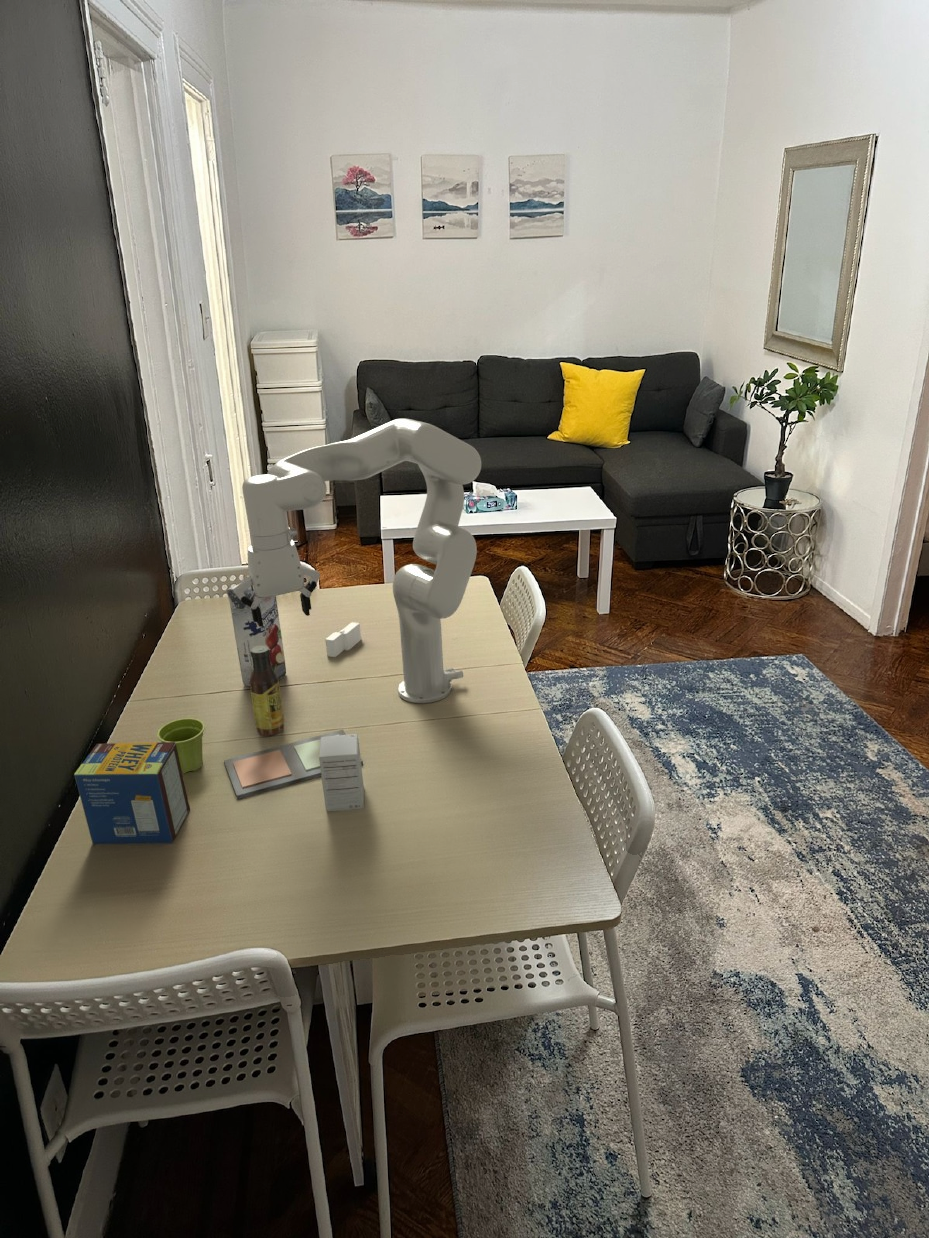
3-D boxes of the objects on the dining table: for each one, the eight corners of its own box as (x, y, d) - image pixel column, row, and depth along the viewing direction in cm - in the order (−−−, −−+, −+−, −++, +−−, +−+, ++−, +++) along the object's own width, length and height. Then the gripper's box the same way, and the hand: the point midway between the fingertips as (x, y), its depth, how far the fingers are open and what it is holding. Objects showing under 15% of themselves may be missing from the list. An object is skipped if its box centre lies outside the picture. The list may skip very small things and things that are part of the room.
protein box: (113, 810, 172) (96, 742, 166) (191, 809, 172) (177, 741, 165) (90, 845, 163) (72, 774, 157) (173, 844, 162) (157, 773, 156)
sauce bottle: (278, 738, 194) (266, 657, 186) (252, 736, 195) (239, 655, 187) (289, 722, 200) (278, 643, 192) (263, 720, 201) (251, 642, 193)
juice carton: (237, 687, 216) (220, 585, 205) (262, 668, 225) (246, 569, 214) (268, 692, 213) (252, 589, 202) (291, 673, 222) (278, 573, 211)
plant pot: (219, 756, 188) (213, 721, 185) (193, 781, 180) (186, 745, 177) (182, 750, 191) (175, 715, 188) (155, 774, 183) (147, 738, 180)
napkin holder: (360, 635, 242) (358, 616, 240) (376, 650, 233) (374, 631, 230) (308, 648, 236) (305, 628, 234) (322, 664, 227) (319, 645, 224)
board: (343, 732, 195) (342, 728, 195) (363, 764, 183) (362, 759, 183) (224, 763, 186) (223, 759, 185) (237, 798, 174) (236, 794, 174)
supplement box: (327, 790, 176) (320, 735, 171) (364, 786, 176) (358, 732, 171) (325, 812, 169) (317, 756, 164) (363, 809, 169) (357, 753, 164)
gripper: (308, 525, 178) (318, 603, 186) (222, 542, 172) (236, 621, 179) (319, 536, 172) (329, 615, 179) (230, 553, 166) (244, 635, 173)
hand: (283, 618), depth 179 cm, fingers open, 9 cm apart
